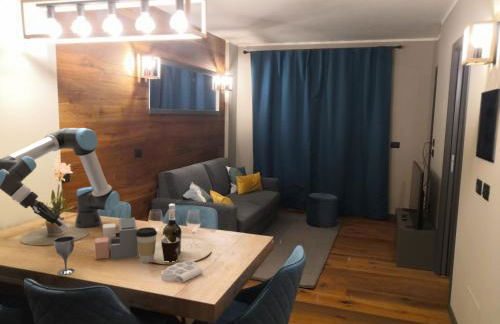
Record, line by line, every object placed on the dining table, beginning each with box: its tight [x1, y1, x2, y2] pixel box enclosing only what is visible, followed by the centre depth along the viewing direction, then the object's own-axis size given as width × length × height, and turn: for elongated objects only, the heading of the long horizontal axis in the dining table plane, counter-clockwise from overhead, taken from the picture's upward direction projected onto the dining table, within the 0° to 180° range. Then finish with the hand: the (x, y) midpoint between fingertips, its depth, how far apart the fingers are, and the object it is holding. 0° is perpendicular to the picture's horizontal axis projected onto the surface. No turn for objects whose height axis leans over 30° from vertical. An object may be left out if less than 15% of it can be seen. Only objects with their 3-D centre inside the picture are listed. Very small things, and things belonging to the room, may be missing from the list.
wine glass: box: [53, 235, 76, 276], centre depth 177 cm, size 8×8×15 cm
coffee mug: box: [160, 237, 180, 262], centre depth 193 cm, size 12×9×10 cm
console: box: [110, 216, 139, 260], centre depth 203 cm, size 22×12×15 cm, turn 18°
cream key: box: [102, 223, 117, 252], centre depth 206 cm, size 7×6×12 cm
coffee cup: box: [136, 226, 158, 264], centre depth 190 cm, size 10×10×15 cm
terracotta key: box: [94, 237, 110, 260], centre depth 196 cm, size 7×6×8 cm
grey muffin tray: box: [160, 260, 204, 283], centre depth 176 cm, size 3×18×15 cm
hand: (67, 229), depth 191 cm, fingers closed
